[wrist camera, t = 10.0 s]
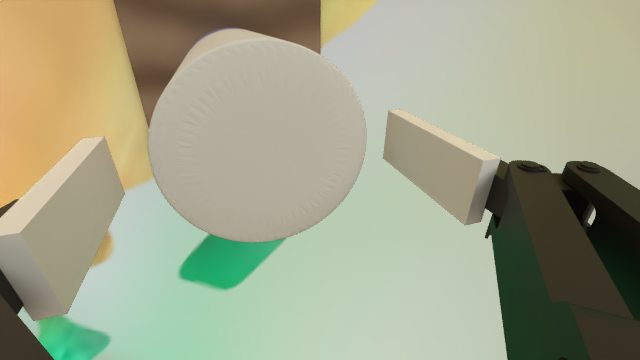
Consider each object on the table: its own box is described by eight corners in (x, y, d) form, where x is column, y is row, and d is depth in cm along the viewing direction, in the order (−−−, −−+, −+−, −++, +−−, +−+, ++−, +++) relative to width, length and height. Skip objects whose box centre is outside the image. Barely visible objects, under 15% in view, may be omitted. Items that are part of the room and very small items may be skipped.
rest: (111, -25, 25) (78, -40, 19) (315, -18, 30) (343, -28, 24) (163, 168, 34) (152, 202, 28) (316, 149, 39) (337, 174, 32)
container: (248, 146, 34) (286, 269, 17) (162, 90, 29) (97, 188, 12) (303, 74, 33) (404, 133, 16) (222, 2, 27) (242, -26, 11)
